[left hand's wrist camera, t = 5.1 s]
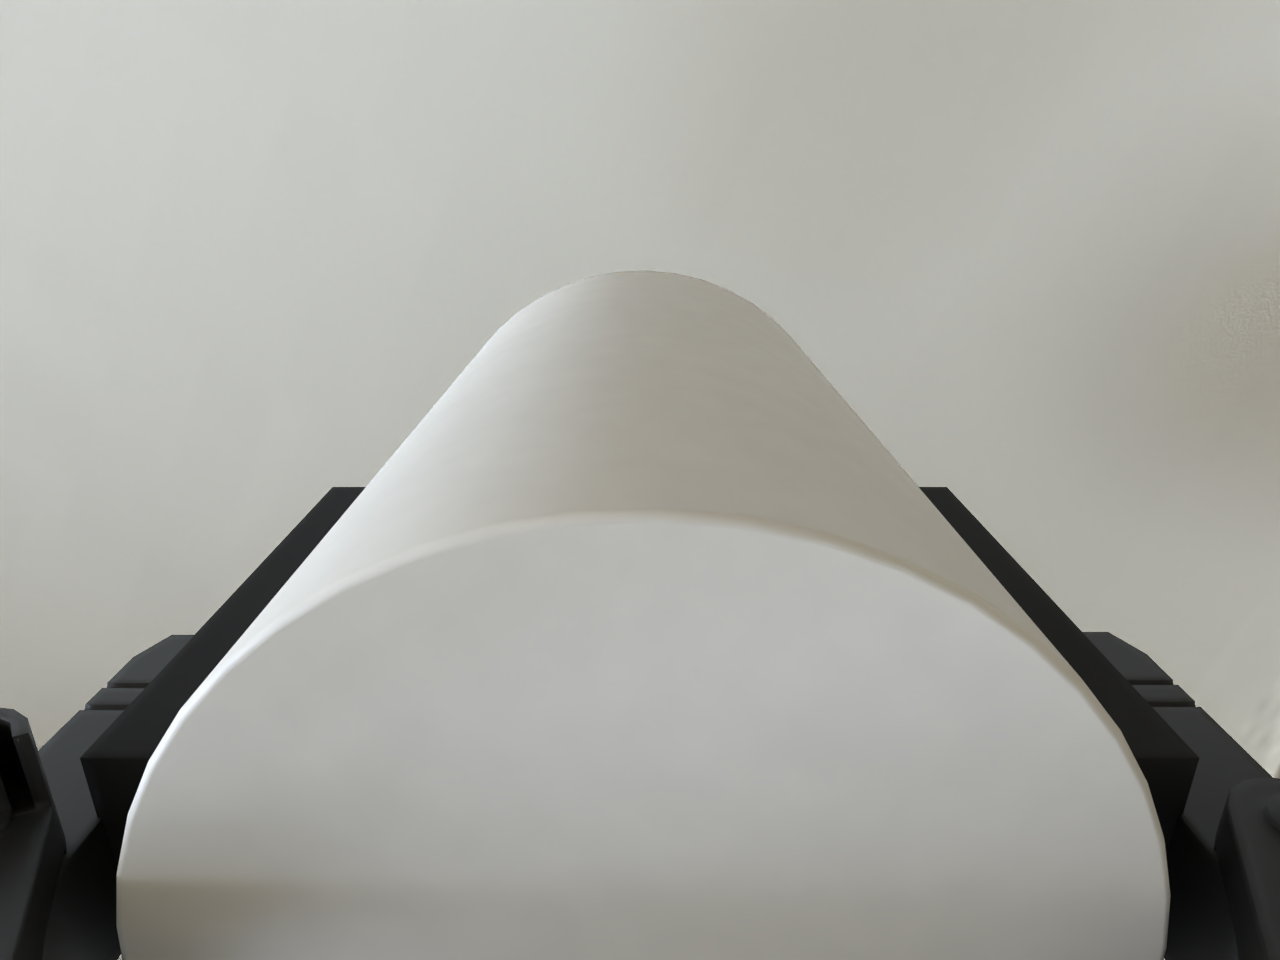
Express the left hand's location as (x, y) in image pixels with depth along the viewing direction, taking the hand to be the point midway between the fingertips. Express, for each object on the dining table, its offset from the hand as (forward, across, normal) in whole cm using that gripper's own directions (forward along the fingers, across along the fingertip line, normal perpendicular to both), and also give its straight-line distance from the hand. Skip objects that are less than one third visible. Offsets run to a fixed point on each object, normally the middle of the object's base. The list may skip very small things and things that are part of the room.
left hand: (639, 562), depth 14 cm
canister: (+5, 0, 0) cm, 5 cm away
